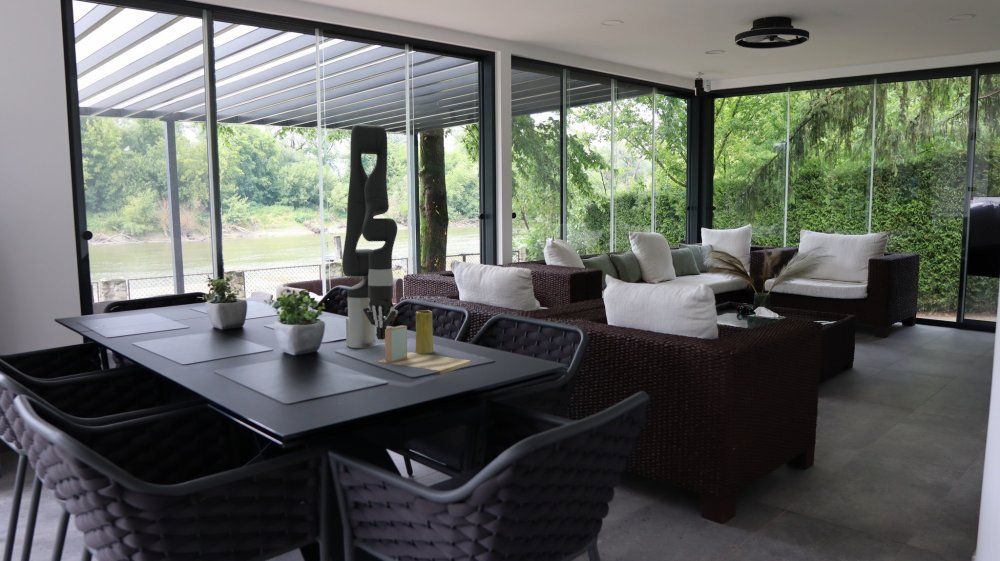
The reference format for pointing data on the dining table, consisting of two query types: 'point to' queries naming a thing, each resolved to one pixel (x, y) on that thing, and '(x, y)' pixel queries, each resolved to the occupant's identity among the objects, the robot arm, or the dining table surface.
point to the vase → (424, 332)
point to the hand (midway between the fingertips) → (381, 339)
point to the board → (431, 362)
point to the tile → (395, 343)
